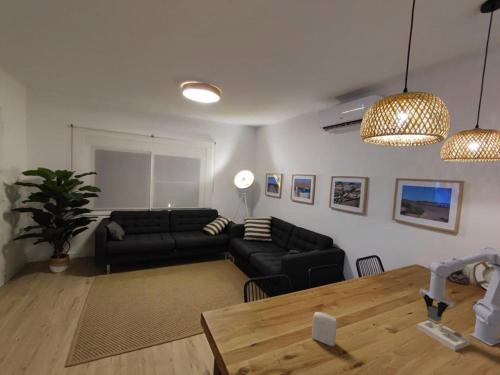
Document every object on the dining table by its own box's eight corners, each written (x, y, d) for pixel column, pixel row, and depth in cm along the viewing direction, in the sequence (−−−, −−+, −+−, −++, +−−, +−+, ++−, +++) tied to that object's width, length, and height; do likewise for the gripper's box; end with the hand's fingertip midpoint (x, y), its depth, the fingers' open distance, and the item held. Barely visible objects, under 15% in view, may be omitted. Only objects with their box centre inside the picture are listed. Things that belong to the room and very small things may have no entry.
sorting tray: (431, 323, 124) (432, 318, 123) (469, 344, 109) (470, 338, 109) (417, 328, 119) (417, 322, 119) (454, 351, 104) (455, 344, 104)
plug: (432, 317, 120) (433, 304, 119) (441, 322, 116) (442, 309, 116) (427, 319, 118) (428, 306, 118) (436, 324, 115) (437, 310, 114)
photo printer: (335, 342, 105) (338, 315, 104) (334, 348, 101) (336, 320, 101) (312, 333, 110) (314, 308, 109) (310, 338, 106) (312, 312, 106)
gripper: (416, 281, 121) (414, 307, 122) (449, 295, 108) (446, 324, 109) (425, 280, 124) (422, 304, 125) (458, 293, 111) (455, 321, 111)
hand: (434, 313), depth 117 cm, fingers closed on plug, 4 cm apart
